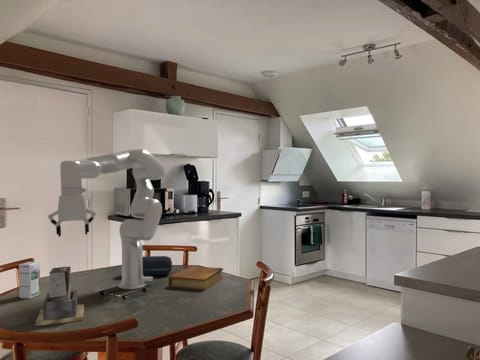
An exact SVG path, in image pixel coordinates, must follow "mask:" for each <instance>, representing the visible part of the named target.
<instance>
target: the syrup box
mask: <svg viewBox="0 0 480 360" xmlns="http://www.w3.org/2000/svg"><path fill="white" fill-rule="evenodd" d="M40 264H41V263H40V261H28V262H24V263H20V264H18V283H19V284H18V287H19V288H18V289H19V293H18V294H19V298H21V299H33V298H34V297H37V296H39V295H40V296H41V278H40V277H41V275H40V274H41V271H40V266H41V265H40Z"/></svg>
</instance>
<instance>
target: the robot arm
mask: <svg viewBox="0 0 480 360" xmlns="http://www.w3.org/2000/svg"><path fill="white" fill-rule="evenodd" d="M59 165H60V166H59V167H60V169H59V170H60V171H59V172H60V195H59V197H58V203H57V208H58V209H57V210H56V211H54V212H51V213H50V214H48V215H47V218H48V219H49V221H50V224H53V225H54V226H55V229H56V235H58V237H59V238H60V237H61V236H62V226H61V223H62V222H74V221H82V222H84V234H85V235H88V233H89V232H90V226H89V225H90V224H91V222H92V221H93V220H94V219H95V216H96V214H97V213H96V212H95V211H93V210H90V209H88V208H87V205H86V204H87V203H86V198H85V195H84V194H83V193H85V192H87V191H86V190H87V189H86V188H83V187H82V186H83V184H82V183H83V182H82V181H83V179H89V180H90V179H92V180H93V179H95V178H98V177H99V176H101V175H102V174H103V175H104V174H115V173H118V172H121V171H125V170H129V169H132V176H133V178H134V181H135V183H136V190H135V191H136V192H135V193H134V197H133V199H132V201H131V204H130V209H129V213H130V215H131V216H132V217H133V218H129V219H125V220H124V221H122V222H121V224H120V225H119V237H120V240H121V282H119V284H118V288H119V289H122V290H137V289H142V288H144V287H146V286H147V282H153V281H154V277H153V276H143V257H144V255H143V253H144V252H143V251H144V248H143V244H142V241H150V240H152V239H153V238H154V237H155V234H156V233H157V229H158V227H159V223H160V220H161V217H162V213H163V206H162V205H163V204H162V203H161V202H160V200H158V199H156V198H154V194H155V189H154V186H153V184H152V182H151V181H157V180H161V179H162V178H164V176H165V167H164V165H163V164H162V162H161V161H160V160H158V159H157V157H155V156H154V155H153V154H152V153H150V152H149V151H147V150H146V149H143V148H142V149H140V148H139V149H138V148H137V149H126V150H123V151H119V152H112V153H108V154H102V155H99V156H98V155H97V156H93V157H87V158H82V159H78V160H63V161H61V162H60V164H59ZM87 214H89V215H91V216H90V217H89V218H88V219H87ZM54 216H57V218H58V220H57V221H56V219H54Z"/></svg>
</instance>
